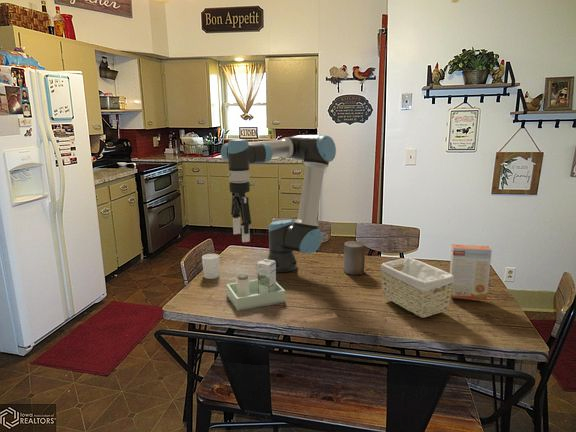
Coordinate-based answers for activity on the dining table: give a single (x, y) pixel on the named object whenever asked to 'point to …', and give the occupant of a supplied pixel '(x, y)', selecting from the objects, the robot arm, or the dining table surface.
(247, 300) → the tote
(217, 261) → the white cup
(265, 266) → the syrup box
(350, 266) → the pillar candle
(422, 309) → the storage basket
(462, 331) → the dining table surface
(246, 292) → the spice jar
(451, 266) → the cracker box
